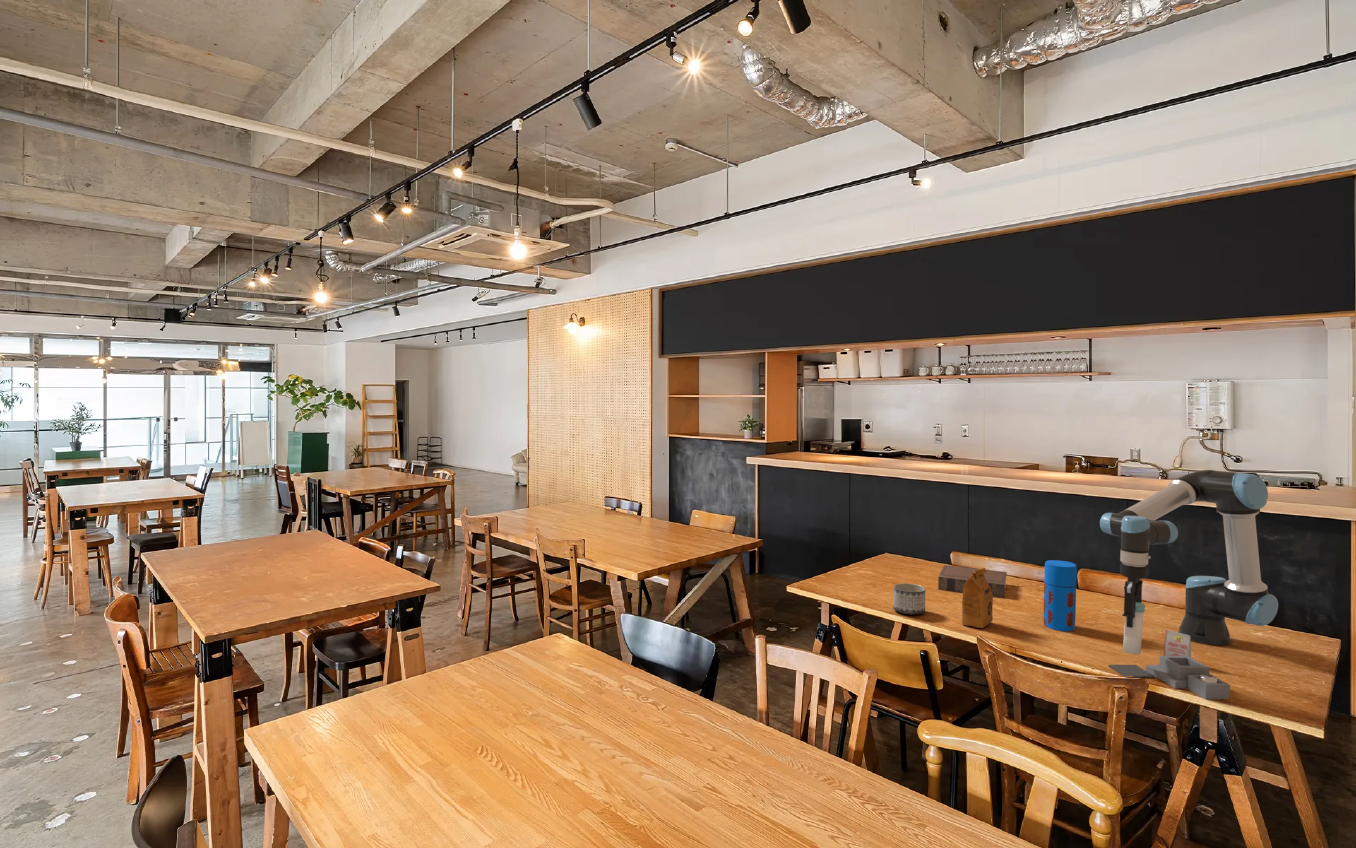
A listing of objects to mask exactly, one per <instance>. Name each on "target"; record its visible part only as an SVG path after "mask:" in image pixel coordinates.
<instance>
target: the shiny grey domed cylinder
mask: <svg viewBox="0 0 1356 848" xmlns="http://www.w3.org/2000/svg"><path fill="white" fill-rule="evenodd" d="M1217 678H1218V677H1216V676H1214V675H1212V674H1210V673H1209V674H1201V675H1200V679H1201V680H1202V681H1204V682H1206V683H1217Z"/></svg>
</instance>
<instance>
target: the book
mask: <svg viewBox="0 0 1356 848" xmlns="http://www.w3.org/2000/svg"><path fill="white" fill-rule="evenodd" d="M978 569H979V568H976V567H975V568H974V567H964V566H957V565H956V566H955V565H947V564H944V565H943V567H942V569H941V571H940V573H939V574H938V576H937V577H938V579H937V585H938V586H937V590H940V591H946V592H947V591H948V592H953V593H962V594H963V590H964V585H965V583H966V581H967V580H968V579H969V577H970V576H971V575H972V573H973V572H974V571H975V570H978ZM986 571H987V572H986V573H984V576H985V579H986V582H987V583H988V585H989V586H990V588H991V591H992V595H993V598H994V597H995V598H1001V599H1002V598H1003V599H1005V598H1006V588H1007V587H1006V585H1007V575H1008V574H1007V573H1008V572H1007V571H999V570H994V569H993V570H992V569H986Z"/></svg>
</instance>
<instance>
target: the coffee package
mask: <svg viewBox="0 0 1356 848" xmlns="http://www.w3.org/2000/svg"><path fill="white" fill-rule="evenodd" d="M977 569H978V570H975V571H974V572H973V573H972V575H971V576H970V577H969V579H968V580H967V581H966V583H965V585H964V590H963V593H962V600H961V610H962V614H961V615H962V617H961V619H962V620H961V624H962V625H963V626H968V627H973V628H978V629H979V628H981V629H983V628H985V627H986V626H988V625H990V624H991V623H992V622H993V619H994V618H993V617H994V616H993V606H994V605H993V603H994V597H993V595H992V591H991V588H990V586H989V585H988V583H987V582H986V579H985V576H984V573H986V572H987V571H986V570H987V569H986V568H985V567H982V568H977Z"/></svg>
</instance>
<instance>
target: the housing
mask: <svg viewBox="0 0 1356 848" xmlns="http://www.w3.org/2000/svg"><path fill="white" fill-rule="evenodd" d="M1158 662H1159V663H1158V664H1146V665H1145V671H1147V672H1149V673H1150V674H1152V675H1154V676H1155V678H1157V679H1159V680H1161V681H1162V682H1164V683H1165V684H1167V685H1169V686H1170V687H1172V688H1174V689H1187V690H1188V691H1190V692H1192V693H1193V694H1194V695H1195V694H1196V695H1197V696H1199V697H1201V698H1202V699H1203V700H1221V699H1229V700H1230V691H1231V689H1230V686H1231V685H1230V684H1229V683H1227V682H1225V681H1223V680H1221V679H1219V678H1218V677H1217V683H1206V682H1204V681H1202V680H1201V679H1200V675H1201V674H1209V675H1210V666H1208V665H1205V664H1204V663H1201V662H1199V661H1197V660H1196V659H1194V658H1192V657H1191V658H1190V657H1188V656H1164V655H1159V661H1158Z"/></svg>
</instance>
